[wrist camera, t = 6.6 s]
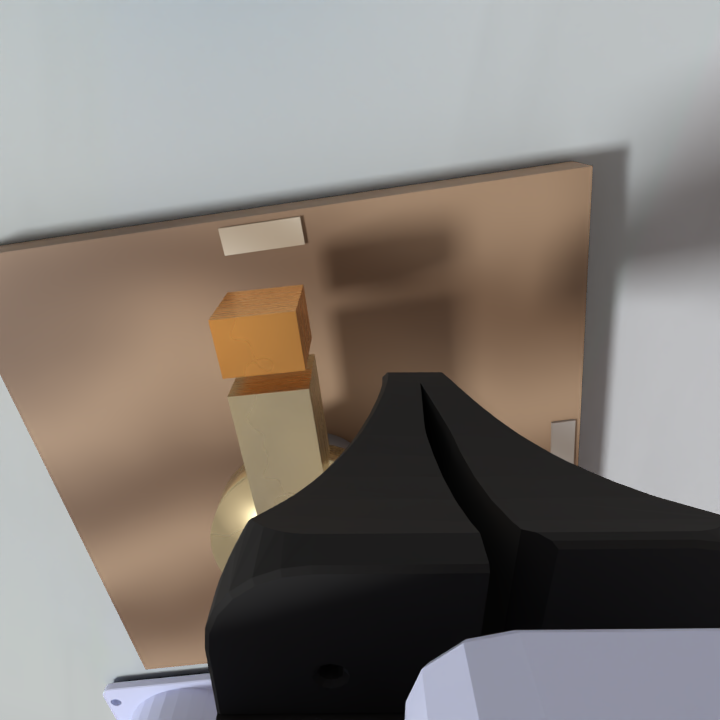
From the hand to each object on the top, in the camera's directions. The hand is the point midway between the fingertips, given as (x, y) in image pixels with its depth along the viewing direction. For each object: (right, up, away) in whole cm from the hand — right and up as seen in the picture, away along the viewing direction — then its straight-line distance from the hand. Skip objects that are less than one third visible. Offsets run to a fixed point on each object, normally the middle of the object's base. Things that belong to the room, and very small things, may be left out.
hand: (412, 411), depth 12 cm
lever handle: (-3, -2, +4) cm, 6 cm away
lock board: (-3, -2, +9) cm, 9 cm away
